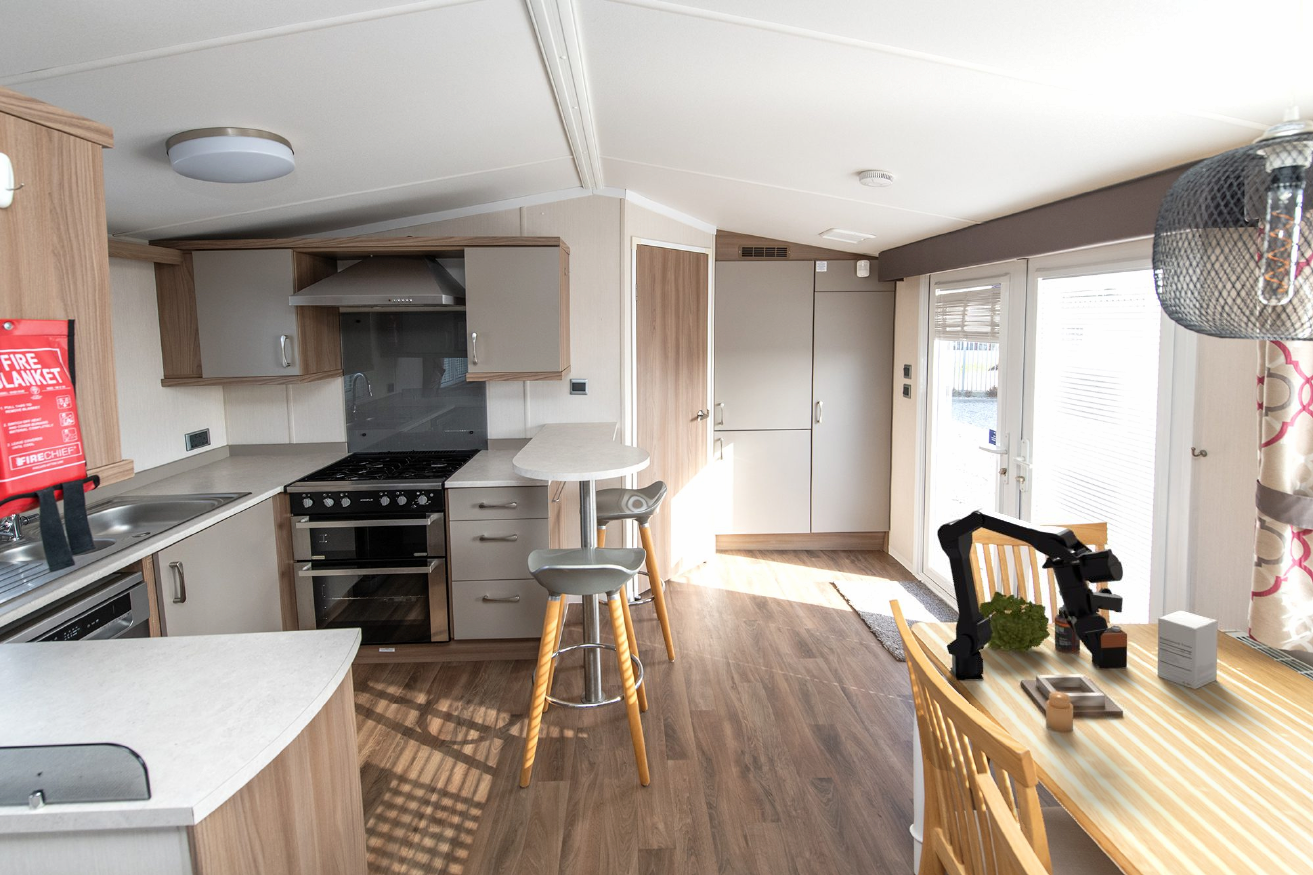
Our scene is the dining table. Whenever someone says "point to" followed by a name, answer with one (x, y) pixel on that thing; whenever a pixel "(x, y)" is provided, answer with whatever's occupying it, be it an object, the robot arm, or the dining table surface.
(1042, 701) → the collar board
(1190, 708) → the dining table surface
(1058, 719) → the tan rounded cylinder
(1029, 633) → the green leafy plant
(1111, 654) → the battery
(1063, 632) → the supplement bottle
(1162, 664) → the supplement box
